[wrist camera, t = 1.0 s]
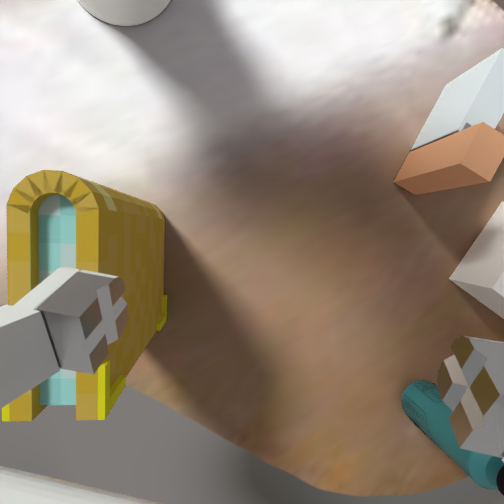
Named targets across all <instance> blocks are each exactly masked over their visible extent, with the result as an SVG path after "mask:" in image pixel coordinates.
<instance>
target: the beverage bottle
mask: <svg viewBox="0 0 504 504" xmlns="http://www.w3.org/2000/svg"><path fill="white" fill-rule="evenodd" d="M402 406H403V409H404V411H405V413H406V414H407V415H408V417H409V418H410V419H411V420H412V421H413V422H414V424H415V425H416V426H417V427H418V428H419V429H420V428H421V429H422V430H423V431H424V432H425V433H426V434H427V437H428V436H429V437H430V438H431V439H432V440H433V441H434V443H436V444H437V445H438V446H439V447H440V449H442V450H443V451H444V452H445V453H446V454H448V455H449V456H450V458H452V459H453V460H454V461H455V462H456V463H457V464H458V465H459V466H460V467H461V468H462V469H463V470H464V471H465V472H466V473H467V474H468V475H469V476H470V477H471V478H472V479H473V480H474V482H475V483H477V484H478V485H480V486H481V487H483V488H486V489H498V490H499V491H500V492H501V493H502V494H503V495H504V462H503V461H502V459H503V458H500V457H496V456H491V455H487V454H483V453H478V452H474V451H470V450H465V449H461V448H459V445H458V442H457V440H456V437H455V434H454V432H453V429H452V426H451V424H450V421H449V417H450V415H451V413H452V410H451V409H450V408H449V407H448V406H447V405H446V404H445V403H444V402H443V401H442V399H441V396H440V393H439V390H438V387H437V386H436V385H435V384H433V383H431V382H429V381H424V380H419V381H415V382H413V383H411V384H410V385H408V386H407V387H406V389H405V390H404V392H403V395H402ZM425 433H424V434H425ZM426 434H425V435H426ZM429 437H428V438H429ZM432 440H431V441H432ZM448 455H447V456H448Z"/></svg>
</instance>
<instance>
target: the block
mask: <svg viewBox="0 0 504 504" xmlns="http://www.w3.org/2000/svg"><path fill="white" fill-rule="evenodd" d="M503 158H504V135H503V134H502V133H500V132H499V131H497V130H495V129H494V128H492V127H491V126H489V125H487V124H486V123H484V122H481V123H478V124H476V125H474V126H471V127H469V128H466V129H464V130H462V131H459V132H457V133H454V134H452V135H450V136H447V137H445V138H442V139H440V140H438V141H435V142H433V143H430V144H428V145H426V146H423V147H421V148H418V149H416V150H414V151H411V152H409V154H408V156H407V158H406V160H405V161H404V163H403V165H402V167H401V169H400V171H399V172H398V174H397V176H396V178H395V180H394V183H396V184H397V185H399V186H401V187H402V188H404V189H406V190H408V191H409V192H411V193H413V194H414V195H419V194H425V193H430V192H436V191H442V190H447V189H453V188H458V187H464V186H470V185H475V184H481V183H486V182H490V181H491V179H492V178H493V176H494V174H495V172H496V170H497V169H498V167H499V165H500V163H501V161H502V159H503Z"/></svg>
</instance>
